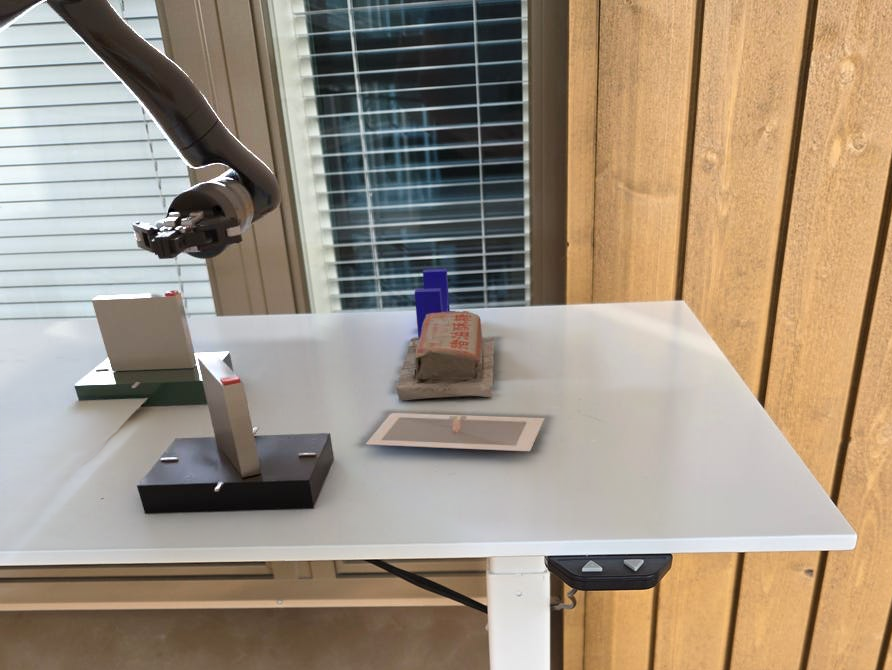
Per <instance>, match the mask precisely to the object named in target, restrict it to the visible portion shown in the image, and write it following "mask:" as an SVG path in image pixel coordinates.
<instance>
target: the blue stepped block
mask: <svg viewBox="0 0 892 670" xmlns="http://www.w3.org/2000/svg"><path fill="white" fill-rule="evenodd" d="M448 278H449V277H448V268H431V269H423V271H422V279H423V282H422V283H423V288H415V290H414V303H415V314H416V322H417V323H416V324H417V325H416V326H417V337H418V338H419V339H420V335H421V328H422V325H423V321H424V319H425V317H426V315H427V314H430V313H440V312H456V310H452V311H451V310H450V295H449V294H450V293H449V280H448Z"/></svg>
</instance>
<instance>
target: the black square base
mask: <svg viewBox="0 0 892 670" xmlns="http://www.w3.org/2000/svg"><path fill="white" fill-rule="evenodd" d="M258 430H259V427H258V426H255V427H254V428H253V433H254V438H255V443H256V448H257V453H258V458H259V463H260V468H261V474H257V475H253V476H249V477H245V478H242V477H241V475H240V474H239V472H238V471H237V470H236V468H235V467H234V466H233V464H232V463H231V462H230V460H229V459H228V457H227V456H226V455H225V453H224V452H223V451H222V449H221V448H220V446H219V445H218V444H217V442H216V439H215V436H208V437H207V436H206V437H204V436H203V437H180V438H178V437H177V438H174V439H173V441H172V442H171V443H170V445H169V446H168V447H167V448H166V450H165V451H164V452H163V453H162V454H161V455H160V457H159V458H158V459H157V460H156V461H155V463H154V464H153V465H152V466H151V468H150V469H149V470H148V471H147V472H146V474H145V475H144V476H143V477H142V479H141V480H140V481H139V483H137V485H136V487H137V491H138V495H139V498H140V503H141V505H142V509H143V512H144V514H175V513H206V512H208V513H209V512H238V511H239V512H240V511H241V512H242V511H269V510H270V511H271V510H272V511H273V510H275V511H276V510H305V509H307V510H308V509H309V510H310V509H315V506H316V504H317V502H318V499H319V496H320V494H321V492H322V489H323V488H324V484H325V481H326V480H327V478H328V475H329V473H330V470H331V468H332V465H333V463H334V460H335V455H334V449H333V443H332V442H333V441H332V438H331V436H332V435H331V432H322V433H321V432H320V433H294V434H293V433H292V434H265V435H256V434H257V432H258Z"/></svg>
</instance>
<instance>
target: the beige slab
mask: <svg viewBox="0 0 892 670" xmlns="http://www.w3.org/2000/svg"><path fill="white" fill-rule="evenodd" d="M91 302H92V306H93V311H94V313H95V316H96V317H95V318H96V320H97V324H98V327H99V331H100V334H101V338H102V341H103V345H104V348H105V351H106V356H107V358H108V359H109V363H110V366H111V370H112V371H131V370H156V369H182V368H193V367H194V366H195V365H196V364H197V362H196V357H195V353H196V352H195V349H194V345H193V340H192V336H191V331H190V327H189V322H188V319H187V314H186V309H185V305H184V301H183V297H182V292H179V290H168V291H166V292H163V293H161V292H160V293H159V292H158V293H137V294H135V293H134V294H115V295H112V294H111V295H97V296H96V297H94V298H92V299H91Z"/></svg>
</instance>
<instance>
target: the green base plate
mask: <svg viewBox="0 0 892 670" xmlns="http://www.w3.org/2000/svg"><path fill="white" fill-rule="evenodd" d="M194 353H195V357H196V362H197V364H196V365H195V366H194V367H193V368H182V369H156V370H131V371H112V370H111V366H110V363H109V359H108V357H107V358H106V359H104V361H102V362H101V363H100V364H99V365H97V366H96V367H95V368H94V369H92V370H91V371H90V372H89V373H88V374H86V375H85V376H84V377H82V378H81V379H80V380H79V381H78V382H77V383H75V384H74V385H73V386H74V390H75V394H76V396H77V399H78V400H77V401H78V402H81V401H82V402H83V401H84V402H85V401H86V402H87V401H109V400H113V401H114V400H133V399H134V400H137V399H139V400H140V399H146V400H145V401H144V402H143V403H141V404H140V407H155V406H156V407H157V406H181V405H182V406H183V405H184V406H185V405H186V406H187V405H208V404H207V399H206V395H205V390H204V386H203V382H202V377H201V373H200V369H199V364H198V360H197V357H198V356H204V355H209V354H215V353H216V354H217V355H218V356H219V357H220V358H221V359H222V361H223V362H224V363H225V364H226V365H227V366H228V367H229V368H230V369H231V370H232V371H233V372H234V367H233V362H232V357H231V353H230V351H217V352H215V351H214V352H194ZM234 373H235V372H234Z"/></svg>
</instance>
